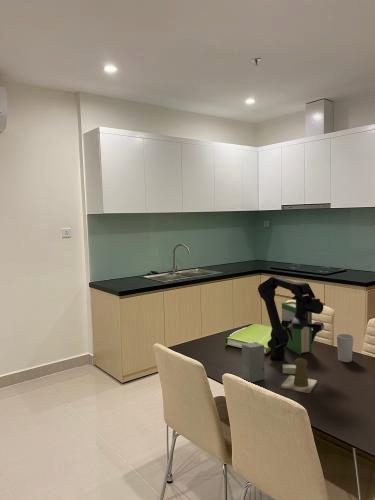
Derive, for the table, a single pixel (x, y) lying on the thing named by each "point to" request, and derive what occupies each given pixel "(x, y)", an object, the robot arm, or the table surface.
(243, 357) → the skincare box
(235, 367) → the table surface
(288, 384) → the board
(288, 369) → the soap bar
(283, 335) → the robot arm
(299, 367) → the cork
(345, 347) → the cup
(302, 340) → the hardback book
